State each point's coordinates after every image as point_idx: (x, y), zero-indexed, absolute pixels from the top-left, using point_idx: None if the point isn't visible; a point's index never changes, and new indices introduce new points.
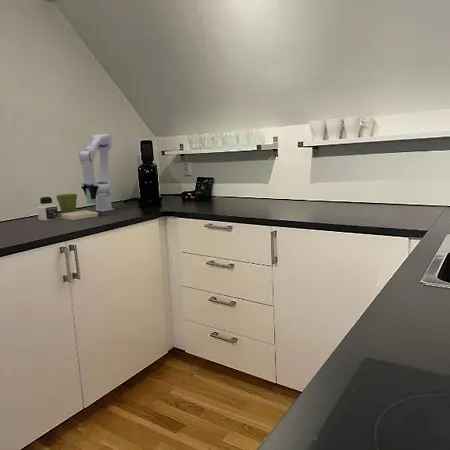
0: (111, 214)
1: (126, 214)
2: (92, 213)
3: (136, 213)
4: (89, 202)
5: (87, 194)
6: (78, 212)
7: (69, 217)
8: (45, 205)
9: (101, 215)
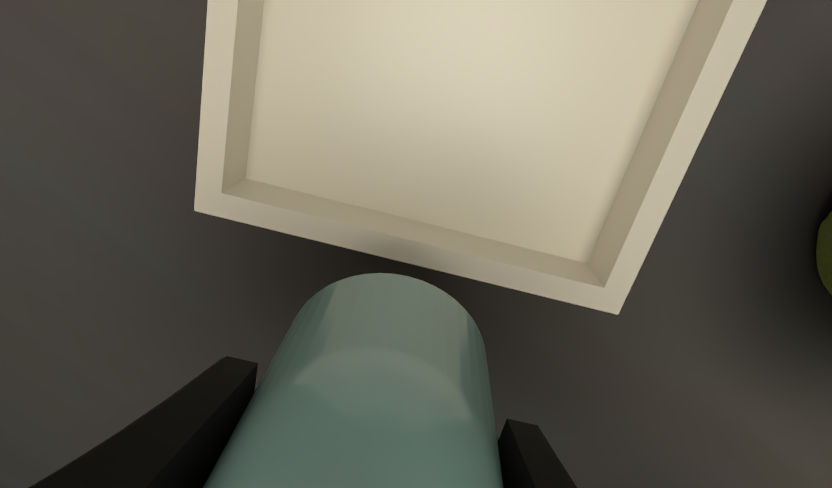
0: None
1: (52, 415)
2: (205, 116)
3: (14, 481)
4: (338, 292)
5: (331, 449)
6: (643, 178)
7: None
8: None
9: (295, 294)
